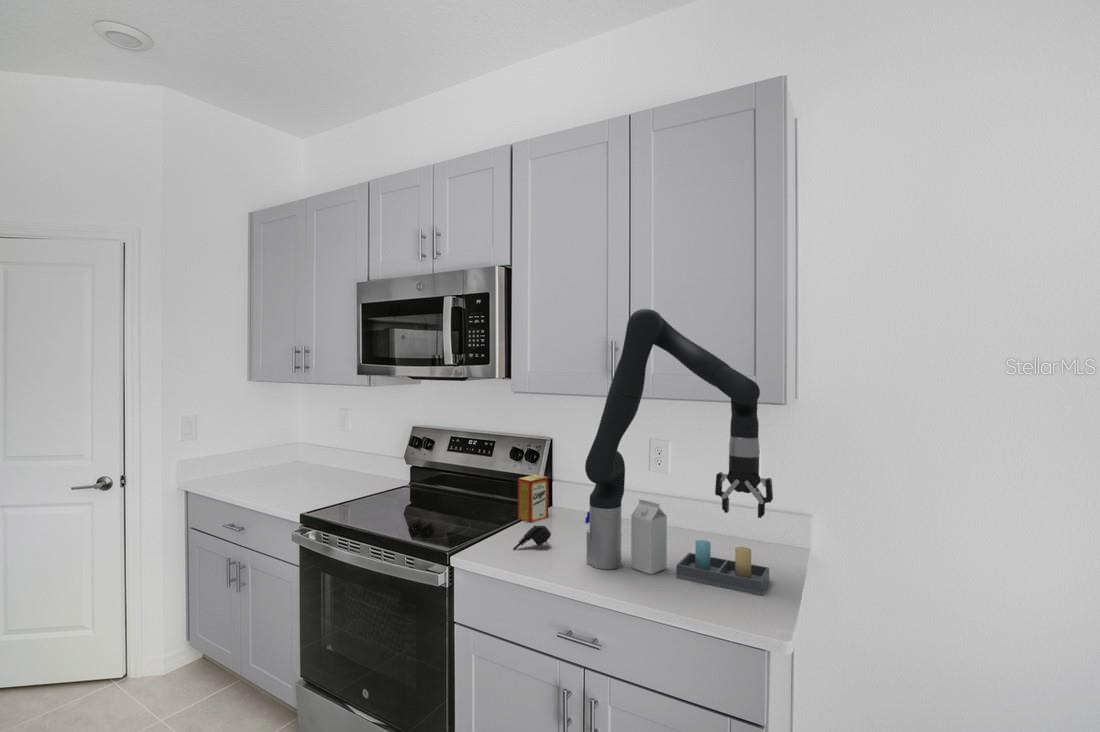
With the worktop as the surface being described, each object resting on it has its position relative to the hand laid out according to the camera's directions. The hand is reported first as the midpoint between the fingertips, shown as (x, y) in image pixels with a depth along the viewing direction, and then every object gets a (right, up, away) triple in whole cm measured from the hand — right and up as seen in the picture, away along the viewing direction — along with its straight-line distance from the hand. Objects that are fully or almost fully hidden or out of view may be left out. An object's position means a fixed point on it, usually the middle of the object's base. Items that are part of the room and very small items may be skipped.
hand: (743, 514), depth 144 cm
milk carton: (-23, -18, +10) cm, 31 cm away
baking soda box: (-57, -18, +58) cm, 84 cm away
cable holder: (-34, -18, +53) cm, 65 cm away
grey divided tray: (-5, -18, +3) cm, 19 cm away
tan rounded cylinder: (0, -17, 0) cm, 17 cm away
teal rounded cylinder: (-9, -17, +5) cm, 20 cm away
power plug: (-61, -20, +25) cm, 69 cm away
